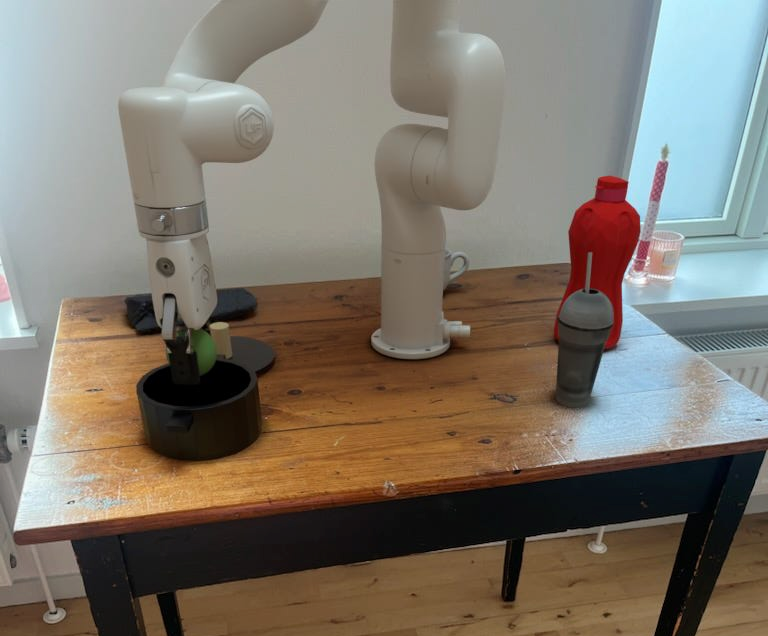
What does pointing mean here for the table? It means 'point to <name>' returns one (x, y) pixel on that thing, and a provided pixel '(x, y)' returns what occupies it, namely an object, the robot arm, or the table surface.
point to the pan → (201, 411)
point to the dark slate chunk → (144, 320)
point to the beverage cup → (581, 342)
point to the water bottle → (603, 246)
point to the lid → (242, 348)
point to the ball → (201, 349)
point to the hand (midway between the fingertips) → (194, 370)
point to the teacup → (449, 262)
